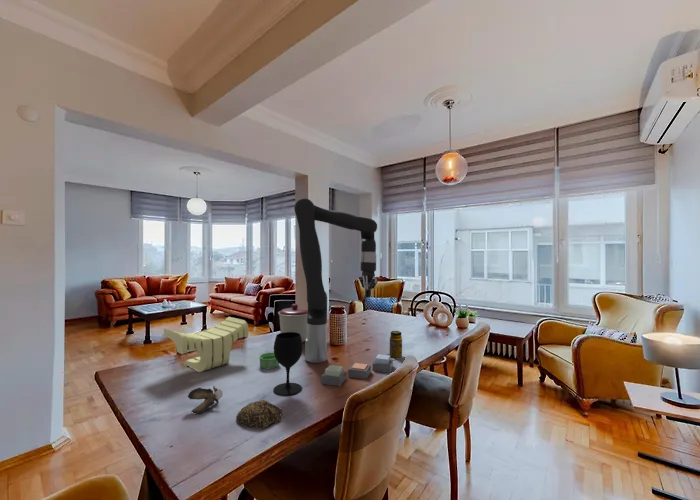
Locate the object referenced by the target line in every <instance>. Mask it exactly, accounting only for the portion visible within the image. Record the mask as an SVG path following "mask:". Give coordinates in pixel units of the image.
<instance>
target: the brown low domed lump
mask: <svg viewBox="0 0 700 500" xmlns="http://www.w3.org/2000/svg"><path fill="white" fill-rule="evenodd" d="M282 411H283V409H282V408H280V407H279V406H277V405H275V404H273V403H271V402H270V401H268V400H265V399H261V400H257V401H254V402H249V403H248V404H246V405H245V406H243V407H242V408H241V409H240V410H239V412H238V413H237V415H236V417H235V418H236V419H235V420H236V421H237V422H238V424H240V425H243V426H245V427H246V426H248V427H247V428H253V427H255V428H254V429H258V428H260V429H264V427H265V428H267V427H268V426H271V424H273V423H275V422H276V423H275V424H277V423H279V422H281V421H280V420H282V415H280V414H282Z"/></svg>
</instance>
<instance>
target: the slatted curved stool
mask: <svg viewBox="0 0 700 500" xmlns="http://www.w3.org/2000/svg"><path fill="white" fill-rule="evenodd" d="M163 336H165V337H168V338H169V339H170V340H172V341H173V342H174V345H175V348H176V352H177V353H179V354H181V355H184V354H186V353H188V351H189V352H190V351H195V350H196V351H197V353H198V354H199V356H196V357H194V358H189V359H186V360H185V362H184V364H187V365H188V366H191V367H192V368H195V369H197V370H198V371H200V372H199V373H201V372H204V371H207V370H210V368H211V369H213V368H217V367H220V366H224V365H227V364H229V363H230V355H231V354H230V353H231V350H232V347H233V343H235V342H236V341H237V340H238V339H242V338H249V325H248V322H247V321H246V320H245V319H241V318H236V317H231V316H228V317H226V318H225V320H222V321H221V322H219V324H216V325H215V326H214V327H211V328H208V329H205V330H204V331H203V330H202V331H199V332H194V333H193V332H191V333H190V332H187V333H186V332H177V331H174V330H170V329H167V328H163ZM198 371H197V372H198Z"/></svg>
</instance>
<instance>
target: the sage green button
mask: <svg viewBox="0 0 700 500" xmlns="http://www.w3.org/2000/svg"><path fill="white" fill-rule="evenodd" d="M343 370H344V369H343V366H340V365H333V364H329V365H328V366H327V367H326V368H325V369H324V372H325V375H327V376H334V377H339V376H340V375H341V374H342V373H343Z"/></svg>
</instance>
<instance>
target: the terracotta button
mask: <svg viewBox="0 0 700 500" xmlns="http://www.w3.org/2000/svg"><path fill="white" fill-rule="evenodd" d="M354 363H355V364H354V365H353V366H352V369H357V370H366V368H367V367H368V365H369V364H367V363H358V362H354Z"/></svg>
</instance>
